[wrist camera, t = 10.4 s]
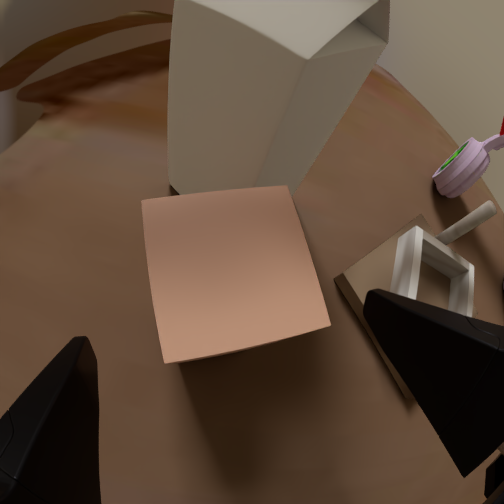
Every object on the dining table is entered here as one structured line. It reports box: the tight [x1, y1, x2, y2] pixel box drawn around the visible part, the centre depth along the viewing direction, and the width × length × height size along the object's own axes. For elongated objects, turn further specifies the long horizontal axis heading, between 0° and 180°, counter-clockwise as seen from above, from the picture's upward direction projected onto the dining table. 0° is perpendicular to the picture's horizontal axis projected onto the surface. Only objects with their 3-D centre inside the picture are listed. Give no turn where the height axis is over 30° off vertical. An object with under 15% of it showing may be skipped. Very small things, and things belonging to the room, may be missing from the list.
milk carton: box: [168, 0, 390, 197], centre depth 14 cm, size 7×7×19 cm
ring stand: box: [334, 200, 497, 399], centre depth 18 cm, size 12×12×10 cm
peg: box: [141, 185, 331, 364], centre depth 13 cm, size 4×4×12 cm
